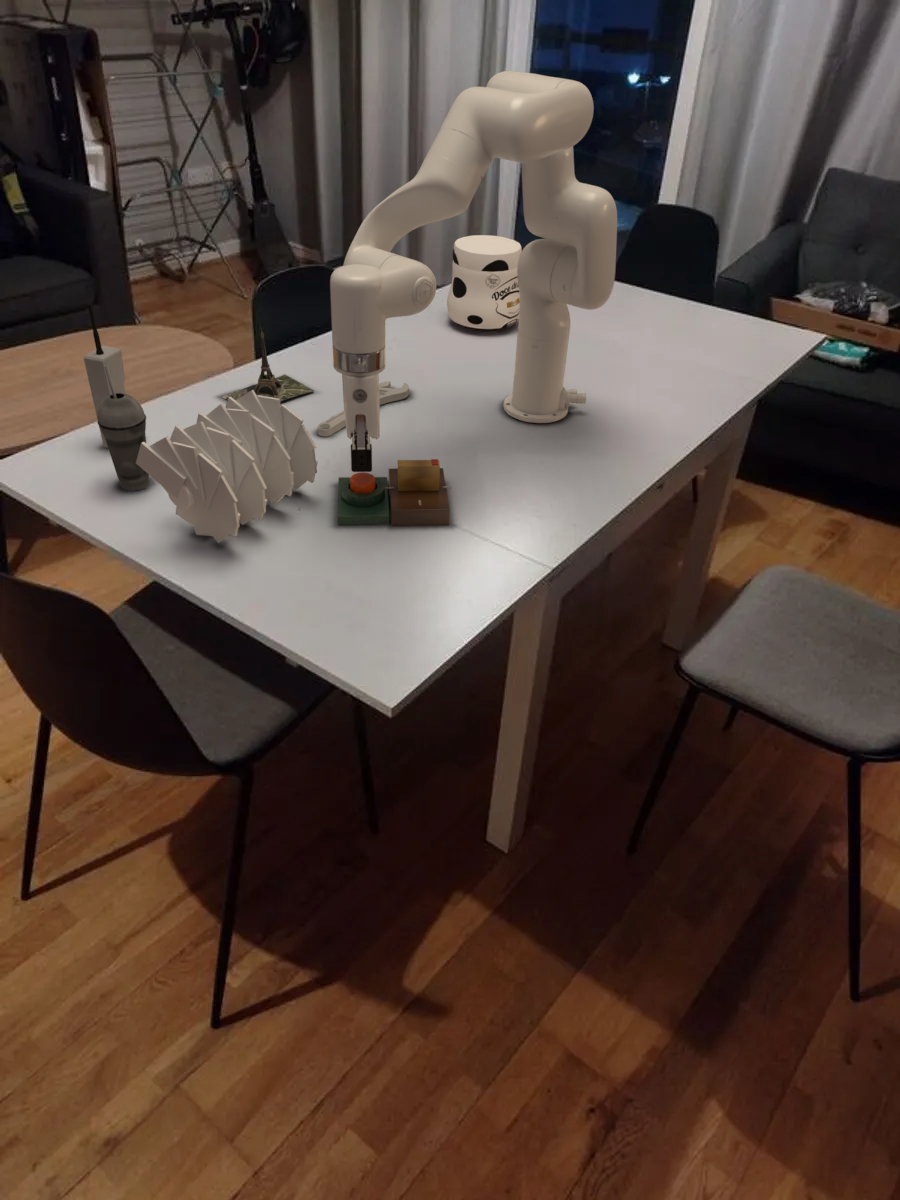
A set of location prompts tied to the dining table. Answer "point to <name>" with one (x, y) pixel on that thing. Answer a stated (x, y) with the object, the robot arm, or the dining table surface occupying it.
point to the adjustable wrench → (385, 396)
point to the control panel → (418, 504)
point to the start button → (362, 483)
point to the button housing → (363, 504)
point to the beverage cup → (124, 436)
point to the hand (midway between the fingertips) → (361, 469)
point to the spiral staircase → (232, 463)
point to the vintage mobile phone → (103, 370)
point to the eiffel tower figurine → (272, 383)
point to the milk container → (484, 283)
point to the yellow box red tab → (418, 475)
